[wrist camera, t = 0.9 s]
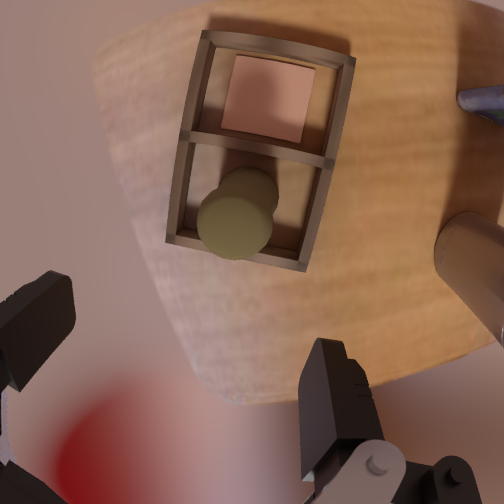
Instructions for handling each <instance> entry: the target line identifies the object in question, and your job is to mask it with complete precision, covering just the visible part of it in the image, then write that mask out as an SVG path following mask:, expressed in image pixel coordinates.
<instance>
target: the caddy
mask: <svg viewBox="0 0 504 504" xmlns="http://www.w3.org/2000/svg"><path fill="white" fill-rule="evenodd" d="M216 47H218V48H228V49H237V50H245V51H252V52H259V53H265V54H271V55H276V56H282V57H287V58H292V59H296V60H301V61H305V62H310V63H314V64H318V65H322V66H325V67H329V68H333V69H336V70H339V71H338V76H337V81H336V86H335V91H334V96H333V101H332V106H331V111H330V116H329V120H328V125H327V130H326V134H325V139H324V143H323V148H322V152H321V156H319V155H315V154H311V153H307V152H303V151H299V150H294V149H290V148H286V147H281V146H276V145H272V144H267V143H262V142H257V141H252V140H246V139H241V138H235V137H229V136H223V135H217V134H211V133H204V132H198V128H199V123H200V118H201V112H202V107H203V102H204V98H205V93H206V88H207V84H208V79H209V74H210V70H211V66H212V61H213V57H214V53H215V49H216ZM355 64H356V58H355V57H352V56H348V55H345V54H342V53H338V52H335V51H331V50H327V49H324V48H320V47H316V46H311V45H307V44H303V43H298V42H293V41H288V40H283V39H278V38H272V37H266V36H259V35H252V34H244V33H235V32H225V31H212V30H202V33H201V37H200V41H199V44H198V48H197V52H196V57H195V61H194V65H193V69H192V74H191V78H190V83H189V87H188V92H187V97H186V102H185V107H184V112H183V117H182V123H181V128H180V134H179V140H178V146H177V152H176V158H175V165H174V172H173V179H172V187H171V194H170V202H169V211H168V220H167V230H166V240H165V243H169V244H174V245H179V246H183V247H188V248H192V249H197V250H201V251H206V252H211V251H210V250H209V249H208V248H207V247H206V246H205V245H204V244H203V242H202V240H201V238H200V237H199V233H198V231H197V230H192V229H187V228H183V225H184V217H185V210H186V202H187V195H188V188H189V182H190V175H191V169H192V163H193V157H194V151H195V145H196V143H201V144H208V145H214V146H220V147H226V148H232V149H237V150H243V151H248V152H253V153H258V154H263V155H268V156H273V157H277V158H282V159H286V160H291V161H295V162H299V163H304V164H308V165H312V166H316V167H318V169H317V174H316V178H315V182H314V186H313V190H312V194H311V198H310V202H309V206H308V210H307V214H306V218H305V222H304V226H303V230H302V234H301V238H300V241H299V245H298V249H297V252H295V251H291V250H286V249H282V248H277V247H272V246H268V245H265V246H264V247H263V248H262V249H261V250H260V251H259V252H258V253H256V254H255V255H253V256H251V257H249V258H246V259H243V260H248V261H252V262H257V263H262V264H267V265H271V266H276V267H281V268H285V269H290V270H295V271H300V272H305V273H306V270H307V266H308V263H309V259H310V256H311V253H312V249H313V245H314V242H315V238H316V235H317V231H318V227H319V224H320V220H321V216H322V213H323V209H324V205H325V201H326V197H327V193H328V189H329V185H330V181H331V177H332V173H333V169H334V165H335V160H336V156H337V152H338V148H339V143H340V139H341V134H342V130H343V125H344V120H345V116H346V111H347V106H348V101H349V96H350V91H351V86H352V80H353V75H354V69H355ZM314 74H315V70H314V69H309V68H305V67H301V66H296V65H292V64H287V63H282V62H277V61H271V60H265V59H259V58H253V57H246V56H238V55H236V58H235V63H234V67H233V72H232V76H231V81H230V85H229V90H228V94H227V99H226V104H225V109H224V114H223V119H222V124H221V128H224V129H231V130H237V131H242V132H248V133H253V134H258V135H264V136H268V137H273V138H278V139H283V140H287V141H292V142H296V143H300V141H301V136H302V132H303V127H304V122H305V118H306V113H307V108H308V104H309V99H310V94H311V89H312V84H313V79H314ZM211 253H212V252H211Z"/></svg>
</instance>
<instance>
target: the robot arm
mask: <svg viewBox="0 0 504 504" xmlns="http://www.w3.org/2000/svg"><path fill="white" fill-rule="evenodd" d="M434 263H435V267H436V271H437V273H438V275H439V276H440V277H441V278H442V279H443V280H444V281H445V282H446V283H447V285H448V286H449V287H450V288H451V289H452V290H453V291H454V292H455V293H456V294H457V295H458V296H459V297H460V298H461V300H462V301H463V302H464V303H465V304H466V305H467V306H468V307H469V308H470V309H471V310H472V312H473V313H474V314H475V315H476V316H477V317H478V318H479V319H480V321H481V322H482V323H483V324H484V325H485V326H486V327H487V329H488V330H489V331H490V332H491V333H492V335H493V336H494V337H495V338H496V339H497V341H498V342H499V343H500V344H501V345H502V347H503V348H504V227H503V226H501V225H499V224H497V223H495V222H493V221H491V220H489V219H487V218H485V217H483V216H481V215H479V214H477V213H475V212H463V213H460V214H458V215H456V216H455V217H453V218H452V219H451V220H450V221H449V222H448V223H447V224H446V225H445V226H444V228H443V229H442V231H441V233H440V235H439V237H438V239H437V242H436V246H435V252H434ZM75 320H76V312H75V306H74V297H73V289H72V281H71V279H70V278H69V276H66V275H63V274H61V273H58V272H55V271H52V270H50V271H48V272H46V273H45V274H43V275H42V276H41V277H39V278H38V279H37V280H35V281H33V282H31V283H28V284H26V285H24V286H22V287H21V288H19V289H18V290H17V291H15V292H14V294H13V295H10V296H9V297H8V298H6V301H3V302H1V303H0V504H68V503H67V502H65V501H64V500H63V499H62V498H61V497H59V496H58V495H57V494H56V493H55V492H54V491H53V490H52V489H50V488H49V487H48V486H47V485H46V484H45V483H44V482H43V481H41V480H39V479H38V478H36V477H34V476H33V475H31V474H30V473H28V472H27V471H25V470H24V469H22V468H21V467H19V466H18V465H17V464H16V460H15V458H14V455H13V453H12V451H11V449H10V446H9V440H8V426H7V395H6V392H5V388H6V387H7V385H9V386H11V387H12V388H14V389H15V390H17V391H18V392H21V390H22V389H23V388H24V387H25V385H26V384H27V383H28V382H29V380H30V379H31V378H32V377H33V375H34V374H35V373H36V372H37V371H38V370H39V368H40V367H41V366H42V365H43V364H44V362H45V361H46V360H47V359H48V358H49V356H50V355H51V354H52V353H53V352H54V351H55V349H56V348H57V347H58V346H59V345H60V344H61V343H62V341H63V340H64V339H65V338H66V337H67V336H68V335H69V334H70V332H71V331H72V330H73V328H74V325H75ZM298 400H299V419H300V420H299V421H300V445H301V480H302V481H314V484H315V491H314V492H313V493H312V494H311V495H310V496H309V497H308V499H307V500H306V501H305V502H304V503H303V504H482V502H481V498H480V494H479V491H478V488H477V484H476V480H475V477H474V474H473V471H472V469H471V467H470V466H469V464H468V463H467V462H466V461H465V460H463V459H462V458H460V457H457V456H446V457H444V458H442V459H441V460H439V461H438V462H437V463H436V464H435V465H434V466H429V465H423V464H418V463H413V462H409V461H405V459H404V456H403V455H402V453H401V452H400V450H399V449H398V448H396V447H395V446H394V445H392V444H391V443H389V442H386V441H385V439H384V436H383V432H382V428H381V425H380V421H379V418H378V414H377V410H376V407H375V403H374V400H373V399H372V393H371V390H370V388H369V383H368V380H367V377H366V374H365V371H364V370H363V369H362V367H361V366H360V365H359V364H358V362H357V361H356V360H355V359H348V358H347V354H346V350H345V347H344V344H343V342H342V341H338V340H331V339H324V338H317V339H316V341H315V342H314V345H313V347H312V350H311V352H310V355H309V357H308V359H307V362H306V364H305V366H304V369H303V371H302V373H301V376H300V380H299V386H298Z"/></svg>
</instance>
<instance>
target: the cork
mask: <svg viewBox="0 0 504 504" xmlns="http://www.w3.org/2000/svg"><path fill="white" fill-rule="evenodd" d="M278 199H279V195H278V189H277V186H276V184H275V182H274V180H273V179H272V178H271V177H270V176H269V175H268V174H267V173H266V172H265V171H263V170H261V169H259V168H256V167H250V166H245V167H239V168H236V169H234V170H232V171H230V172H229V173H228V174H227V175H226V176H225V177H224V178H223V179H222V181H221V183H220V185H219V187H218V188H217V189H215V190H213V191H212V192H211V193H210V194H209V195H208V196H207V197H206V198H205V199H204V200H203V201H202V203H201V206H200V208H199V210H198V216H197V229H198V233H199V237H200V238H201V240H202V242H203V244H204V245H205V246H206V247H207V248H208V249H209V250H210V251H211V252H212V253H213V254H215V255H217V256H219V257H221V258H224V259H230V260H241V259H246V258H249V257H251V256H253V255H255V254H256V253H258V252H259V251H260V250H261V249H262V248H263V247H264V246H265V245H266V244H267V242H268V240H269V238H270V237H271V234H272V229H273V216H272V215H273V213H274V211H275V210H276V208H277V204H278Z"/></svg>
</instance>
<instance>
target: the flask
mask: <svg viewBox="0 0 504 504" xmlns="http://www.w3.org/2000/svg"><path fill="white" fill-rule="evenodd" d="M457 95H458V97H457V104H458V105H459V106H460V107H461V108H462V109H463V110H465V111H467V112H468V113H469V112H472V113H474V114H477V116H480V117H481V118H489V119H490V121H494V122H496V123H497V124H498V125H500V126H501V127H503V128H504V85H499V86H491V87H483V88H476V89H469V90H462V91H460V92H458V94H457Z"/></svg>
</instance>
